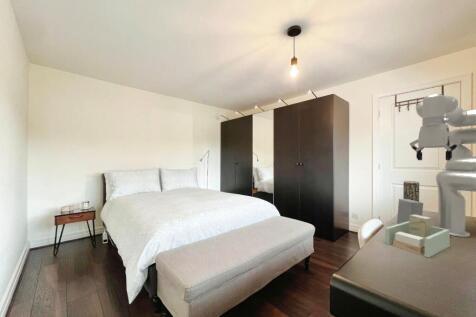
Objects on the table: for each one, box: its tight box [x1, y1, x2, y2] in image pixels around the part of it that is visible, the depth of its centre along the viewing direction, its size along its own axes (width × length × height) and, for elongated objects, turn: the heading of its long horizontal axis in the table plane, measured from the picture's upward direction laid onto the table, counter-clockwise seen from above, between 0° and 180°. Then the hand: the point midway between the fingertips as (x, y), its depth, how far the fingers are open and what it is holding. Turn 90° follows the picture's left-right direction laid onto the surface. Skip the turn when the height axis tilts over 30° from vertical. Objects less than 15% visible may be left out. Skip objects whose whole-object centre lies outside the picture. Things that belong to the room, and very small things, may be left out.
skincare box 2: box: [409, 214, 432, 245], centre depth 90 cm, size 6×4×12 cm
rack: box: [384, 221, 451, 258], centre depth 88 cm, size 22×14×7 cm, turn 120°
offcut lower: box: [393, 239, 425, 256], centre depth 84 cm, size 5×9×3 cm, turn 30°
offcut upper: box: [395, 232, 424, 247], centre depth 85 cm, size 5×8×3 cm, turn 31°
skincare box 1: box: [396, 198, 424, 225], centre depth 108 cm, size 8×7×16 cm
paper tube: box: [402, 180, 420, 202], centre depth 116 cm, size 7×7×25 cm
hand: (433, 160), depth 93 cm, fingers open, 9 cm apart
